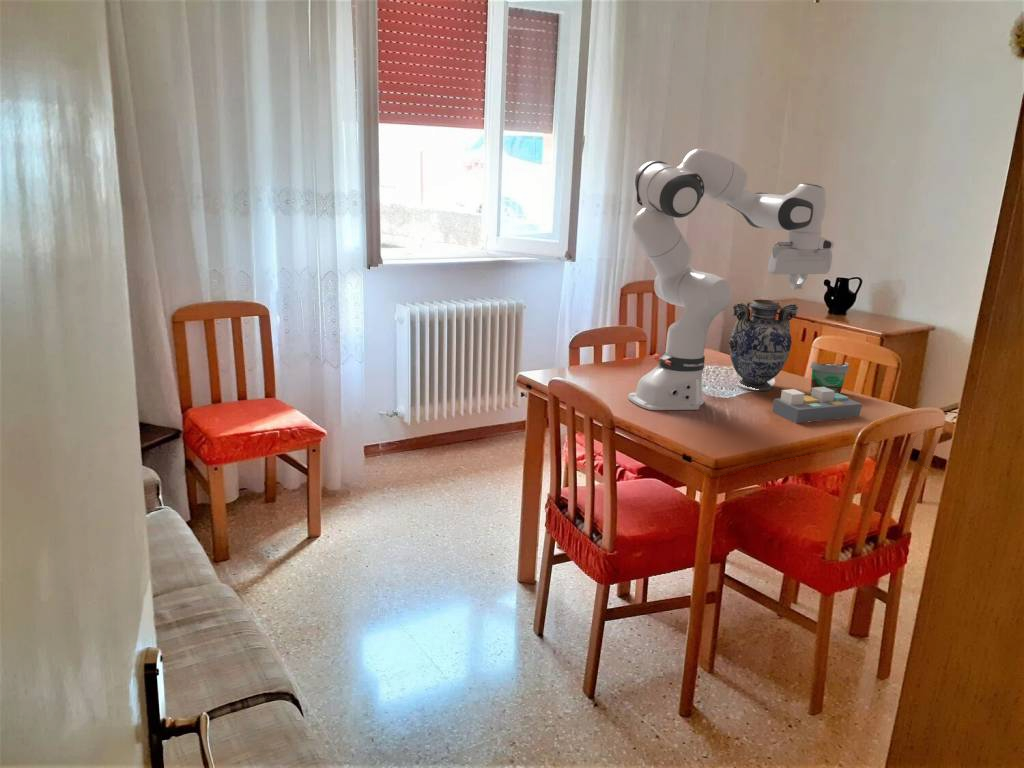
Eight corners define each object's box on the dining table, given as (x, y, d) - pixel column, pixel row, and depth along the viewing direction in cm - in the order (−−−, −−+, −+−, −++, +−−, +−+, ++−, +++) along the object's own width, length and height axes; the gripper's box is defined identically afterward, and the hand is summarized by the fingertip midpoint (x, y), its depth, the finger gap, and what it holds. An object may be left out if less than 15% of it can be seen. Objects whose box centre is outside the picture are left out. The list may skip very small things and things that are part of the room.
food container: (816, 397, 234) (822, 366, 231) (806, 391, 240) (811, 361, 237) (852, 397, 236) (858, 367, 233) (841, 391, 242) (847, 361, 239)
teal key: (834, 409, 219) (836, 398, 218) (823, 404, 223) (825, 393, 222) (846, 408, 221) (848, 397, 219) (835, 403, 224) (837, 392, 223)
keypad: (796, 423, 209) (798, 409, 208) (772, 411, 218) (774, 398, 217) (859, 416, 217) (862, 403, 216) (834, 406, 226) (836, 392, 225)
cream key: (790, 406, 212) (792, 394, 211) (780, 401, 216) (781, 390, 215) (802, 405, 214) (804, 393, 213) (792, 400, 218) (794, 389, 217)
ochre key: (804, 412, 215) (806, 401, 214) (794, 407, 219) (796, 396, 218) (816, 411, 217) (818, 400, 216) (806, 406, 221) (808, 395, 220)
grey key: (821, 403, 216) (823, 392, 215) (810, 398, 220) (812, 387, 219) (833, 402, 218) (835, 391, 217) (822, 397, 222) (824, 386, 221)
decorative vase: (734, 394, 232) (746, 305, 225) (711, 378, 250) (722, 295, 242) (798, 395, 235) (813, 307, 227) (771, 379, 253) (784, 297, 245)
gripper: (781, 243, 210) (774, 291, 214) (838, 243, 218) (830, 290, 222) (766, 240, 216) (760, 288, 220) (822, 240, 223) (815, 286, 227)
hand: (795, 289), depth 221 cm, fingers closed
